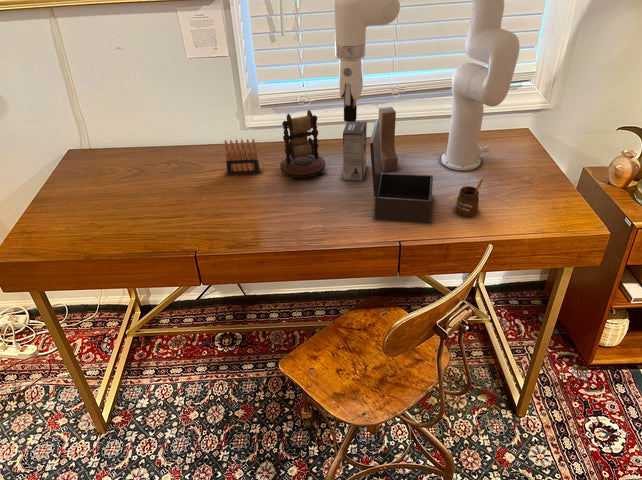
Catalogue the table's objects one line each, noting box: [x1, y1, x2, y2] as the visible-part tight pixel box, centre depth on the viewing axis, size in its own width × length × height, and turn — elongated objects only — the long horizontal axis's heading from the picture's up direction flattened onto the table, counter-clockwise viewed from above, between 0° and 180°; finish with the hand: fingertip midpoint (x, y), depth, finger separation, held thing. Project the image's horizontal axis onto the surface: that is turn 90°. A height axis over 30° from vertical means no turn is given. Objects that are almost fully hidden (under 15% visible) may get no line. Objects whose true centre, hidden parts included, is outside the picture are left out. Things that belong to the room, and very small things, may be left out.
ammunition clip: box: [224, 138, 261, 176], centre depth 177 cm, size 11×2×12 cm, turn 90°
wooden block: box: [377, 106, 399, 172], centre depth 175 cm, size 9×4×18 cm, turn 10°
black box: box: [374, 172, 434, 224], centre depth 158 cm, size 15×14×7 cm
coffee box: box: [342, 120, 368, 181], centre depth 172 cm, size 9×6×16 cm
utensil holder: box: [455, 174, 485, 218], centre depth 153 cm, size 6×6×12 cm
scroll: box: [279, 109, 326, 181], centre depth 174 cm, size 15×15×20 cm
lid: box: [369, 119, 383, 198], centre depth 152 cm, size 16×14×1 cm
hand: (350, 120), depth 146 cm, fingers closed
